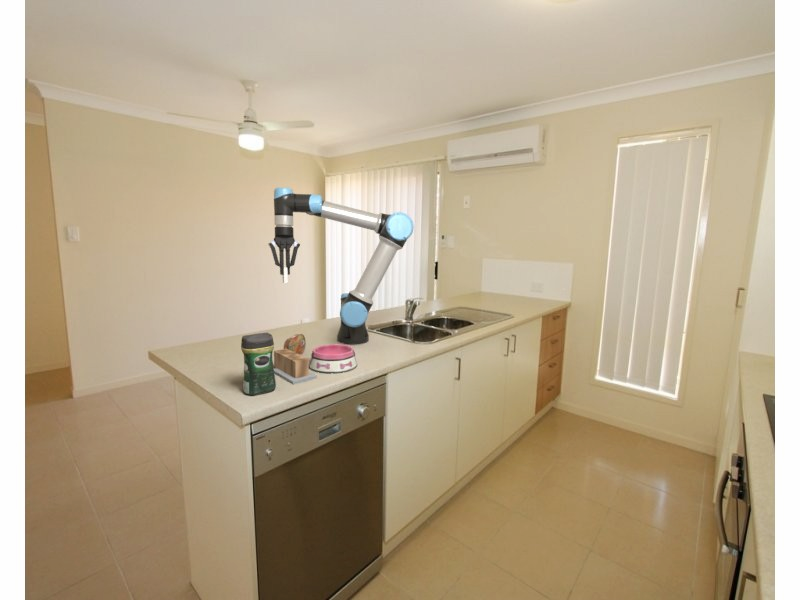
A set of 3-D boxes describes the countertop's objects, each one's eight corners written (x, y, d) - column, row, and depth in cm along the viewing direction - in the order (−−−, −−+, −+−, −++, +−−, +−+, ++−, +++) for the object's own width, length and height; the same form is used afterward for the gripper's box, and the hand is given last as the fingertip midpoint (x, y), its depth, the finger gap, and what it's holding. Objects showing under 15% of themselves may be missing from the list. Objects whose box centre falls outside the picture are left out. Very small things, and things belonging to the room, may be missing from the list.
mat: (294, 366, 145) (294, 364, 145) (316, 378, 133) (316, 375, 133) (271, 371, 139) (271, 369, 138) (293, 384, 127) (293, 381, 127)
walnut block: (286, 348, 144) (308, 358, 132) (286, 363, 145) (308, 375, 133) (273, 351, 140) (295, 361, 129) (274, 366, 141) (295, 378, 130)
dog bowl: (308, 360, 154) (307, 343, 153) (353, 357, 159) (354, 341, 158) (309, 375, 136) (309, 357, 135) (360, 372, 141) (360, 354, 140)
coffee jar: (269, 383, 128) (268, 329, 125) (278, 391, 122) (277, 334, 119) (239, 389, 122) (237, 333, 119) (247, 398, 116) (245, 338, 113)
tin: (289, 361, 151) (289, 340, 149) (282, 360, 151) (281, 340, 150) (306, 351, 165) (306, 332, 164) (299, 350, 166) (299, 331, 165)
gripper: (297, 227, 165) (298, 281, 169) (266, 225, 159) (267, 282, 163) (301, 226, 159) (302, 283, 163) (269, 225, 153) (271, 284, 156)
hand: (285, 282), depth 163 cm, fingers closed
